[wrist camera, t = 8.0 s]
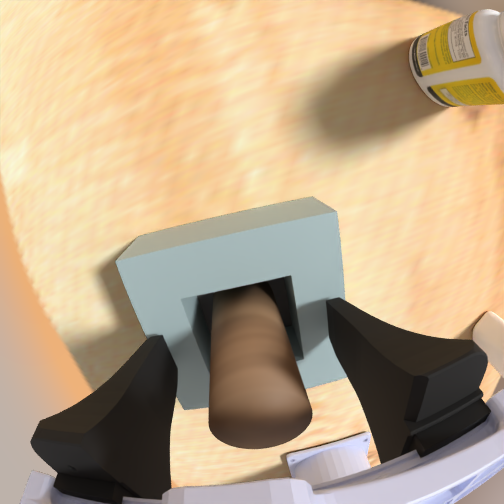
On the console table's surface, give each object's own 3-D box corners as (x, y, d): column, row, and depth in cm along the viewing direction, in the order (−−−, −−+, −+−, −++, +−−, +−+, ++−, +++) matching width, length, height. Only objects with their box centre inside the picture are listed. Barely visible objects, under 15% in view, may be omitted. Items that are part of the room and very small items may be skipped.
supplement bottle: (473, 92, 13) (573, 90, 5) (433, 119, 13) (550, 123, 5) (437, 27, 11) (532, -4, 3) (392, 47, 12) (498, 3, 4)
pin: (276, 320, 16) (312, 439, 9) (219, 329, 16) (221, 453, 8) (270, 267, 15) (311, 379, 7) (207, 278, 15) (196, 398, 7)
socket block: (329, 340, 17) (347, 377, 14) (189, 369, 17) (184, 410, 14) (312, 196, 14) (336, 211, 11) (138, 236, 14) (115, 261, 11)
